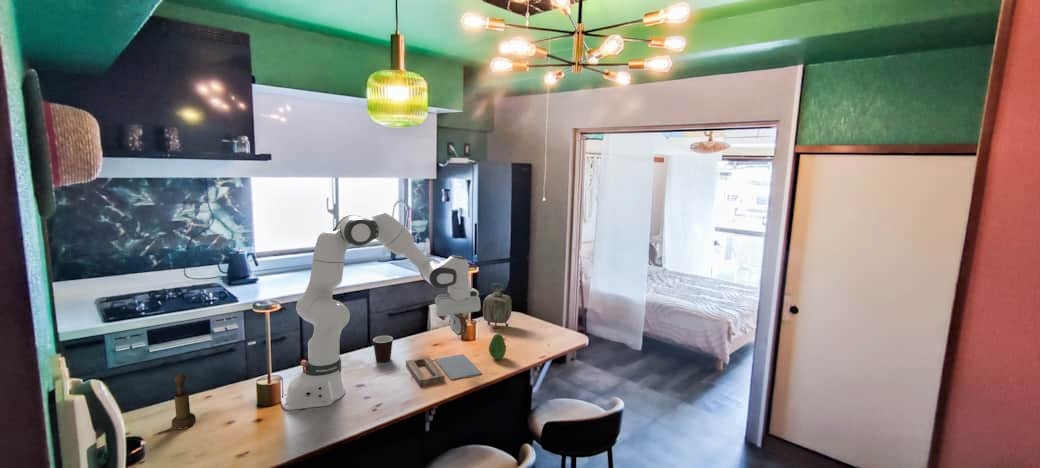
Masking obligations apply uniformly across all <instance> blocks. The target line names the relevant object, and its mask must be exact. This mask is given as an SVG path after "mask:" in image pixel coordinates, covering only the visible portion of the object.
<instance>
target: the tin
mask: <svg viewBox="0 0 1040 468" xmlns="http://www.w3.org/2000/svg"><path fill="white" fill-rule="evenodd" d="M453 319H455V320H456V324H452V323H451V318H450V317H449V321H448V325H449V327H450V329H451V331H453V332H454V333H455V335H456V336H465V335H466V334H467V331H468V330H467V327H468V326H467V320H466V317H464V316H463V314H462V313H461V314H454V315H453Z"/></svg>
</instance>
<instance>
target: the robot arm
mask: <svg viewBox="0 0 1040 468" xmlns="http://www.w3.org/2000/svg"><path fill="white" fill-rule="evenodd" d="M374 240H375V241H378V242H379V243H380V244H381V245H382V246H383V247H385V248H386V249H387V250H388V251H390V252H392V254H394V255H396V256H402V257H404V258H405V259H407V260H408V261H409V262H410V263H412V264H413V265H414V266H415V267H416V268H417V269H418V271H419V273H420V276H421V277H422V279H423V280H424V281H426V282H428V283H429V284H430V285H431V286H432V287H433V288H436V289H443V288H447V293H443V294H441V293H440V294H438V295H436V296H435V297H434V303H435V304H434V313H435V315H436V316H437V317H445V316H448V317H449V318H451V323H452V324H456V320H455V319H453V315H454V314H461V315H463V316H464V317H465V318H466V317H467V315H468V313H474V312H479V311H481V308H482V307H481V306H482V305H481V298H480V296H479V295H480V292H479V291H478V290H477V289H476V288H473V287H469V282H468V281H469V275H470V273H469V272H470V271H469V262H468V259H467V258H465V256H461V255H458V254H457V255H456V254H453V255H450V256H449V257H448V258H447V259H445V260H444V261H442V262H440V261H439V260H437V259H434V258H430V257H429V256H427V255H426V254H425V253H424V252H422V251H421V250H420V248H419V247H418V246H416V244H415V237H414V236H413V235H412V233H411V232H410V231H409V229H407V228H406V227H405V225H403V224H402V222H400V221H398V220H397V219H396V218H395V217H393V216H392V215H391V214H388V213H387V212H385V211H380V212H376V213H375V214H373V215H372V216H371V218H369V219H368V218H366V217H362V216H360V215H355V214H352V215H345V217H343V218H341V220H340V221H339V222H338V223H337V224H336V226H335V227H334V228H333V230H326V231H323V232H321V233H320V234H319V235H318V237H317V239H316V242H315V247H314V249H313V250H314V251H313V256H312V261H311V262H312V263H311V269H310V270H311V271H310V277H309V282H308V284H307V287H306V290H304V291H305V292H304V294H303V295H301V296H300V297H299V298H298V300H297V302H296V304H295V309H296V312H297V314H298V315H299V316H300V317H301V318H302V319H303V320H304V321H306V322H308V323H310V324H311V325H313V328H314V329H313V334H312V337H311V338H310V339H309V340H308V341H307V358H308V360H307V359H306V360H305V359H302V360H301V361H300V366H301V367H302V371H301V372H300V373H299V374H297V375H296V376H295V377H294V378H293V379H292V380H290V381H289V384H288V387H287V390H286V391H285V392H284V393H283V394H282V395H283V398H282V400H280V404H281V407H282V408H283V409H285V410H287V411H290V410H291V411H292V410H293V411H294V410H300V409H302V410H303V409H310V408H317V407H325V406H331V405H333V403H334V402H335V401H337V400H339V399H340V398H342V397H343V396H344V395H345V393H346V389H345V387H344V382H343V379H342V373H341V372H342V360H341V359H342V358H341V356H340V340H341V339H340V338H341V333H342V330H343V329H344V328H345V327H346V326H347V325H348V323H349V321H350V317H351V316H350V315H351V313H350V310H349V309H348V307H347V306H346V305H344V304H343V303H342V302H341V301H340V300H336V299H333V294H334V292H335V290H336V288H337V287H338V286H340V284H341V283H342V281H343V275H344V274H343V273H344V265H345V257H346V251H348V248H349V247H350V245H352V246H355V247H363V246H364V245H367V244H369V243H371V242H372V241H374Z"/></svg>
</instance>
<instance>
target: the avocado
mask: <svg viewBox="0 0 1040 468" xmlns="http://www.w3.org/2000/svg"><path fill="white" fill-rule="evenodd" d="M506 351H507V346H506V342H505V340H504V337H503V335H502V334H500V333H496V334H495V335H493V336H492V338H491V340H490V343H489V345H488V352H489V355H490V357H492V358H493V359H495V360H502V359H503V358H504V356H505V355H506Z"/></svg>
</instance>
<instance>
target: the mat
mask: <svg viewBox="0 0 1040 468" xmlns="http://www.w3.org/2000/svg"><path fill="white" fill-rule="evenodd" d="M434 363H435V364H437V365H438V367H439V369H441V371H442V372H443V373H444V375H446V376H447V378H448V379H449V380H450V381H456V380H462V379H465V378H471V377H475V376H480V375H483V374H482V371H481V370H479V368H478V367H477V366H476V365H475V364H473V363H472V361H471V360H470V359H469V358H468V357H467V355H465V354H464V353H462V354H457V355H449V356H445V357H439V358H434Z"/></svg>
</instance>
